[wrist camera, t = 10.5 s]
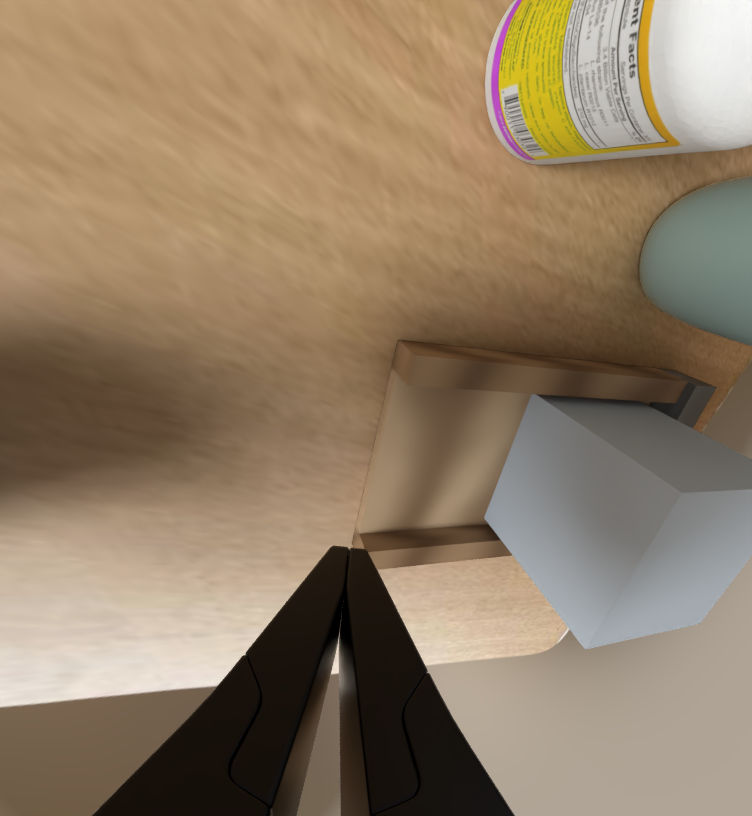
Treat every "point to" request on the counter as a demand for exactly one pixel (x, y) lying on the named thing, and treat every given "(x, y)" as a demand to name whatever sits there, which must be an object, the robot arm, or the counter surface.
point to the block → (622, 515)
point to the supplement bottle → (620, 78)
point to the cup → (704, 260)
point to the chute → (475, 441)
